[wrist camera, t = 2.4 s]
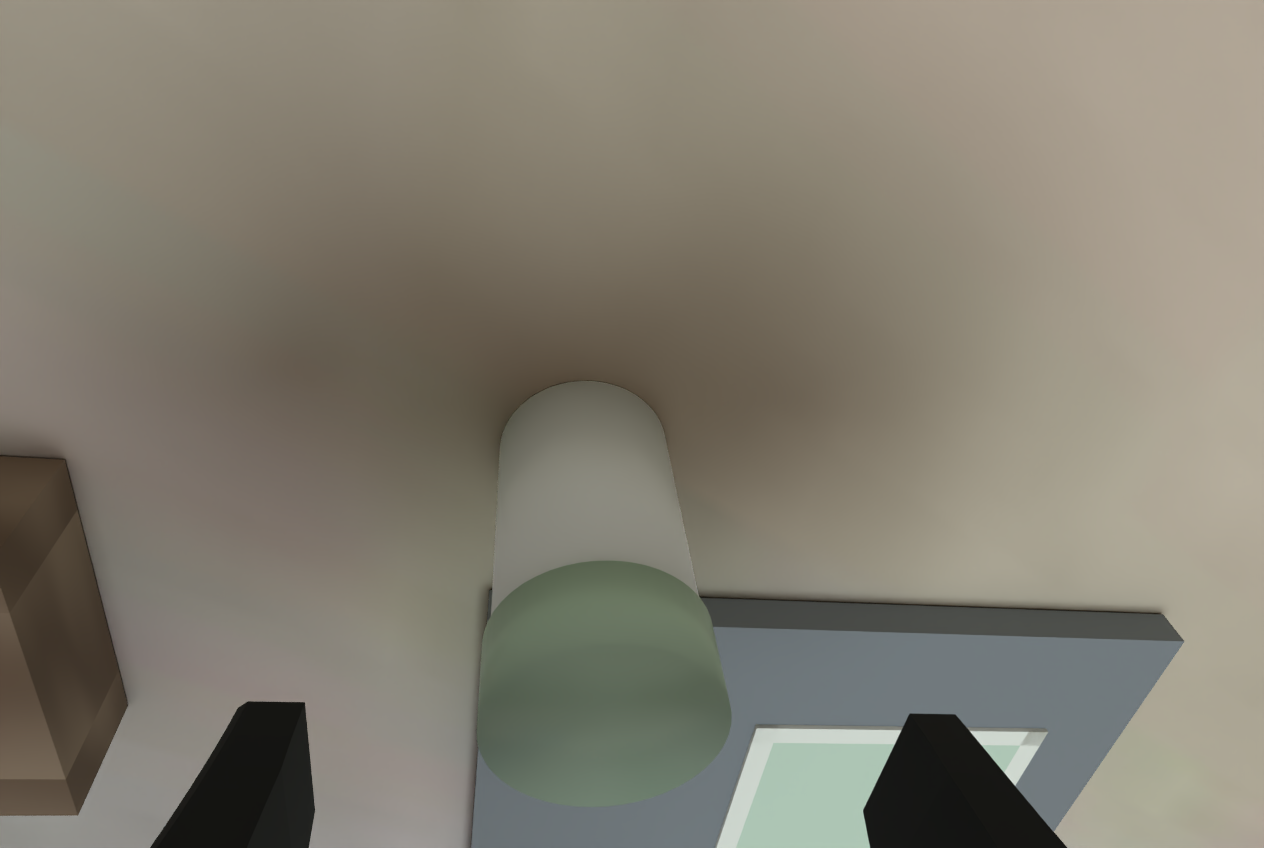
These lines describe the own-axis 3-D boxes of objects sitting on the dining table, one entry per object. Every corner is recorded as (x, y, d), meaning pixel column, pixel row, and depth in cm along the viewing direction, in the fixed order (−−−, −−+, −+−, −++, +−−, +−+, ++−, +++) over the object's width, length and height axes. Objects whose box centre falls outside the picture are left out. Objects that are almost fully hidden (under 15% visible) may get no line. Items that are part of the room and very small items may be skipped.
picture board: (965, 917, 27) (977, 948, 26) (464, 928, 25) (462, 962, 24) (1162, 614, 20) (1187, 645, 19) (489, 590, 18) (487, 623, 17)
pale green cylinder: (656, 523, 17) (706, 807, 12) (489, 515, 17) (471, 807, 12) (685, 383, 16) (756, 646, 11) (499, 368, 15) (483, 639, 10)
